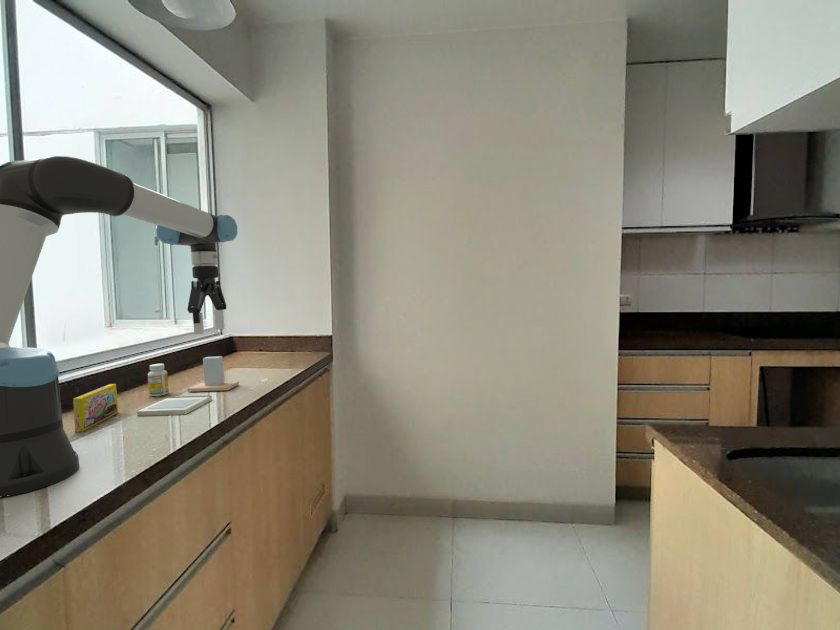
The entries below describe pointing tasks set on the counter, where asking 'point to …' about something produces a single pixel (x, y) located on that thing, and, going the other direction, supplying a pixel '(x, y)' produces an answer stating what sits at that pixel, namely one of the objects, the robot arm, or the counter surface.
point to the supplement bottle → (158, 380)
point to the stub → (213, 376)
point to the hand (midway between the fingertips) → (210, 331)
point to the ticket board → (175, 405)
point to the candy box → (95, 407)
